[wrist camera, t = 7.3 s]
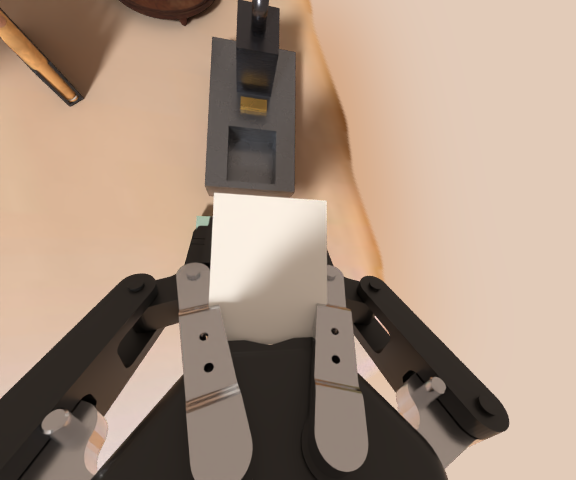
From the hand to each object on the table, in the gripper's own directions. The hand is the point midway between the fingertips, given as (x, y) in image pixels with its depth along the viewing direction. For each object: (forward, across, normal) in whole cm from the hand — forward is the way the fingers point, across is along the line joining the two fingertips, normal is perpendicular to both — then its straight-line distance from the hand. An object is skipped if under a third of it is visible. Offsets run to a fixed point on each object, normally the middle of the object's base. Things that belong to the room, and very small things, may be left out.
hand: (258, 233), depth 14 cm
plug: (+2, 0, +5) cm, 5 cm away
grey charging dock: (+23, 0, +1) cm, 23 cm away
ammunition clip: (+27, +24, -2) cm, 36 cm away
